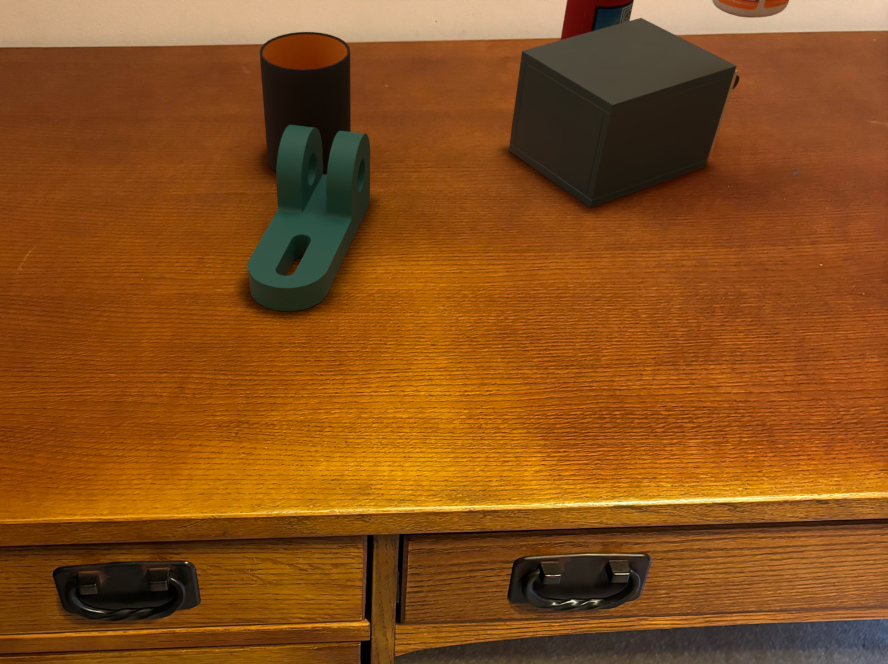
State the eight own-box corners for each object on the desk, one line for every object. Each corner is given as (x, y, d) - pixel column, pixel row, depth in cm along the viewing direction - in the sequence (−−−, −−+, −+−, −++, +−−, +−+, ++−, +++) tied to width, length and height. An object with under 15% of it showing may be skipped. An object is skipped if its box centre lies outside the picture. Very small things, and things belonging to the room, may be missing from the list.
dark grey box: (619, 115, 97) (641, 17, 89) (705, 167, 90) (737, 65, 82) (508, 150, 92) (521, 50, 84) (590, 208, 85) (612, 104, 78)
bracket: (300, 193, 87) (296, 111, 81) (369, 202, 86) (370, 119, 80) (239, 304, 76) (229, 218, 70) (317, 316, 75) (313, 230, 69)
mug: (322, 117, 97) (319, 11, 89) (362, 171, 89) (363, 61, 81) (247, 131, 95) (237, 24, 87) (282, 187, 88) (274, 76, 80)
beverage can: (601, 102, 98) (627, -21, 89) (543, 88, 101) (563, -34, 91) (624, 78, 102) (651, -43, 93) (567, 65, 104) (588, -55, 95)
